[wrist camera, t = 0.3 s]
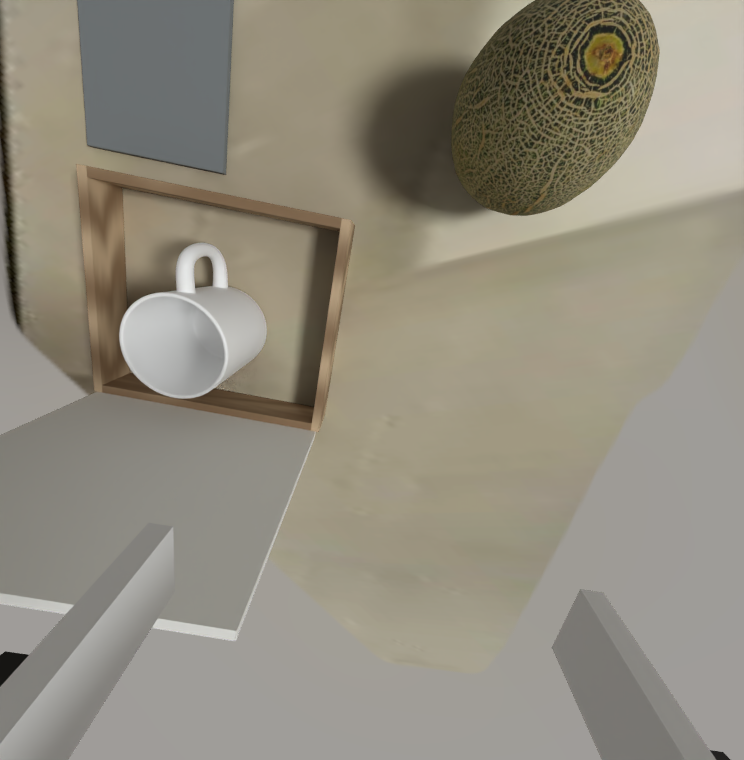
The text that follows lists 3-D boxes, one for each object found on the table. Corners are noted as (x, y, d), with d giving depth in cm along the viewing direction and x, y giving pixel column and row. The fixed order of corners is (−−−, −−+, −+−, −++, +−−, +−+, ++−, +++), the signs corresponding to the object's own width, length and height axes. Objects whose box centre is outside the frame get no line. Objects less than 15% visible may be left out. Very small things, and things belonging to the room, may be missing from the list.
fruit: (595, 129, 29) (795, 3, 15) (511, 248, 33) (611, 237, 18) (489, 43, 28) (601, -189, 13) (411, 178, 31) (436, 104, 17)
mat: (76, -98, 26) (69, -106, 25) (236, -61, 26) (233, -69, 25) (92, 147, 31) (87, 145, 30) (225, 174, 31) (222, 173, 31)
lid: (125, 379, 38) (-260, 551, 15) (322, 415, 39) (236, 631, 16) (126, 404, 39) (-234, 601, 16) (318, 439, 40) (232, 674, 17)
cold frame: (113, 175, 31) (76, 163, 28) (354, 225, 32) (351, 220, 28) (123, 378, 38) (94, 391, 34) (324, 415, 39) (318, 432, 35)
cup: (190, 357, 37) (123, 390, 27) (188, 238, 33) (109, 228, 23) (266, 369, 37) (226, 406, 27) (273, 252, 33) (229, 248, 24)
